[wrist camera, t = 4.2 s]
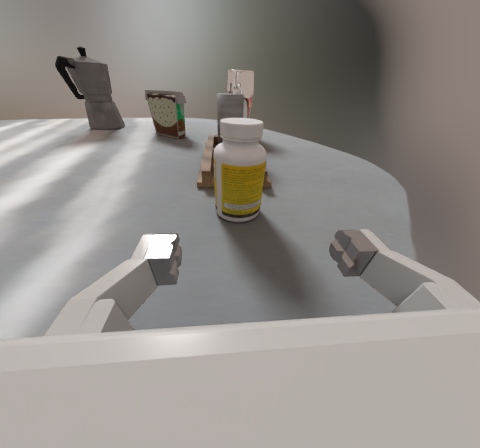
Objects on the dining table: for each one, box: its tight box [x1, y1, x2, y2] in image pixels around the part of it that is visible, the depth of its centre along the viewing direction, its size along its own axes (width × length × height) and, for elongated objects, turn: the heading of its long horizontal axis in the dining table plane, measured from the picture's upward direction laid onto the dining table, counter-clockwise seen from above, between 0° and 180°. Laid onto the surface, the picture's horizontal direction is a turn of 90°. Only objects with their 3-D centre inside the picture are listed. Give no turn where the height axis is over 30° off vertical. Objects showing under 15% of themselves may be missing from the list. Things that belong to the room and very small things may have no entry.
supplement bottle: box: [214, 118, 267, 222], centre depth 20 cm, size 5×5×10 cm
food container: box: [145, 90, 186, 139], centre depth 50 cm, size 12×6×10 cm, turn 57°
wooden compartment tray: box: [197, 93, 271, 188], centre depth 33 cm, size 22×11×11 cm, turn 5°
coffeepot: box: [55, 47, 125, 130], centre depth 51 cm, size 15×9×18 cm, turn 171°
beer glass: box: [228, 70, 254, 118], centre depth 51 cm, size 7×7×15 cm
